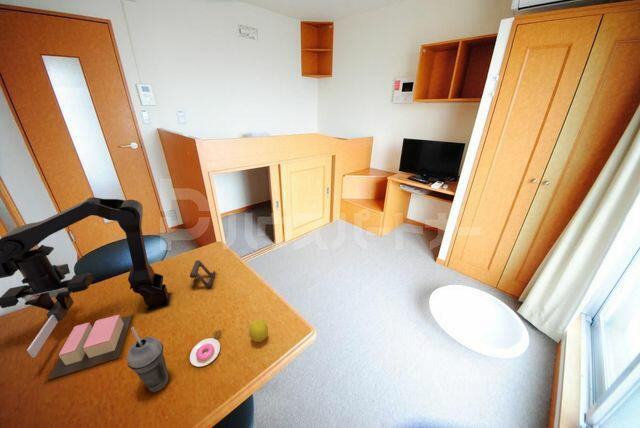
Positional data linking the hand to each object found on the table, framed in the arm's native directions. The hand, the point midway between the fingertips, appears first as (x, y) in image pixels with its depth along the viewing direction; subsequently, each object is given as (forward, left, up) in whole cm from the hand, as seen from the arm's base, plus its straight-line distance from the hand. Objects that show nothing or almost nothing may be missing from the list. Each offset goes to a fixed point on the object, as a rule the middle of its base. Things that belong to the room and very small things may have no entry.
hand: (62, 309), depth 74 cm
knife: (0, +6, -1) cm, 6 cm away
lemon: (-55, +28, -8) cm, 62 cm away
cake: (-12, +10, -8) cm, 18 cm away
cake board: (-9, +10, -8) cm, 16 cm away
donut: (-40, +25, -8) cm, 48 cm away
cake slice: (-6, +10, -7) cm, 14 cm away
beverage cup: (-28, +30, -8) cm, 42 cm away
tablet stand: (-39, -7, -8) cm, 40 cm away
